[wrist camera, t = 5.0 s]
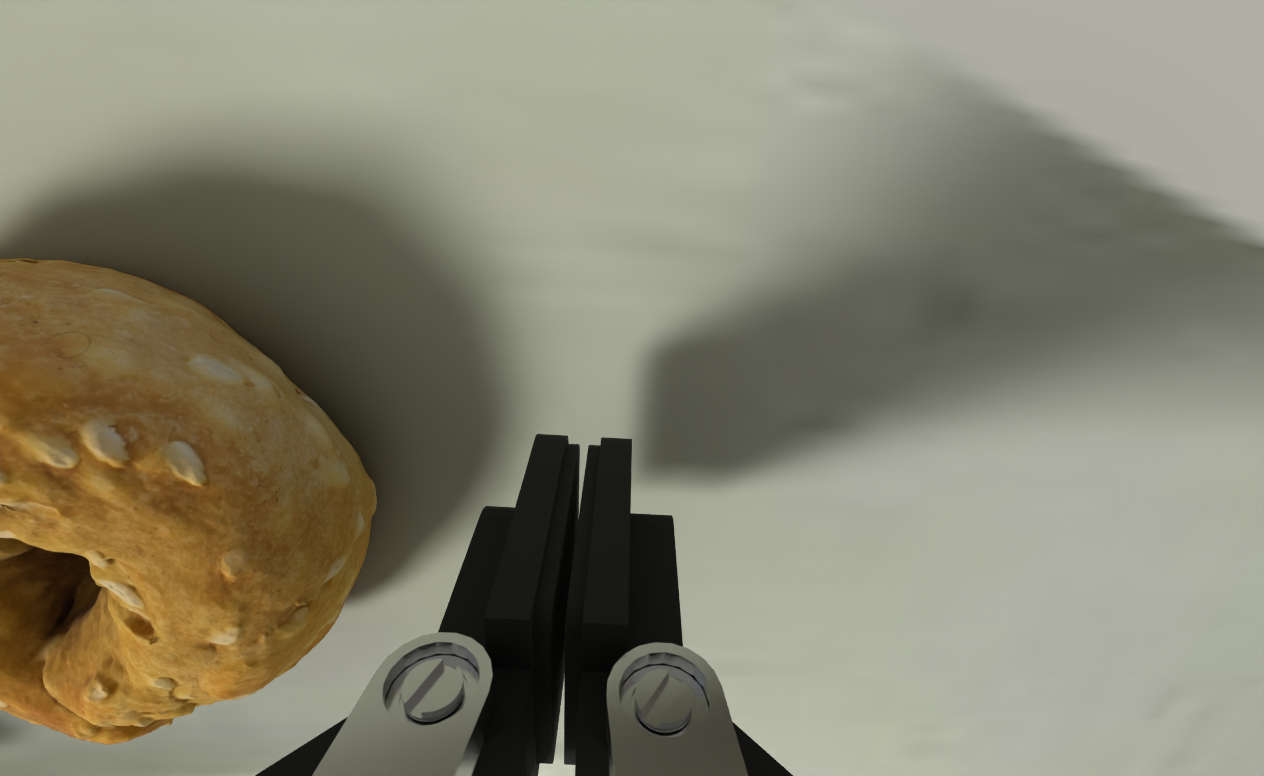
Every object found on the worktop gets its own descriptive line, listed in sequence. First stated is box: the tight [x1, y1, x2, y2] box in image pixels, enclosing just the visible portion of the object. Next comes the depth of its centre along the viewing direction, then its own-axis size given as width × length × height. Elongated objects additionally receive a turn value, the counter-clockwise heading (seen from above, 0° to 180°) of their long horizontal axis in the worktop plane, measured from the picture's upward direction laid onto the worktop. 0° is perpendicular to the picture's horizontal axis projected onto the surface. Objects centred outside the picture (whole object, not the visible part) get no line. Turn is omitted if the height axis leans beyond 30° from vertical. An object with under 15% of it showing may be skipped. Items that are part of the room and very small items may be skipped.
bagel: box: [0, 258, 377, 744], centre depth 11 cm, size 10×11×5 cm
